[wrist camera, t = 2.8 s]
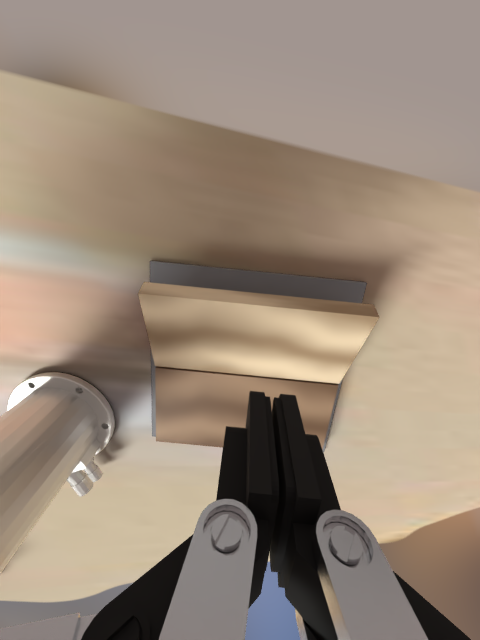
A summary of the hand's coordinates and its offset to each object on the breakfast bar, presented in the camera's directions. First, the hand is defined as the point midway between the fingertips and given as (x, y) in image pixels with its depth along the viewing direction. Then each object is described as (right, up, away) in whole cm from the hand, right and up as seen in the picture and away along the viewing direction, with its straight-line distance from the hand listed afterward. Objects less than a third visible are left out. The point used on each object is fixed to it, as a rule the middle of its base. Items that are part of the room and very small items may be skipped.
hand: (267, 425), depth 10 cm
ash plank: (0, +3, +17) cm, 17 cm away
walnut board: (-1, -6, +23) cm, 24 cm away
